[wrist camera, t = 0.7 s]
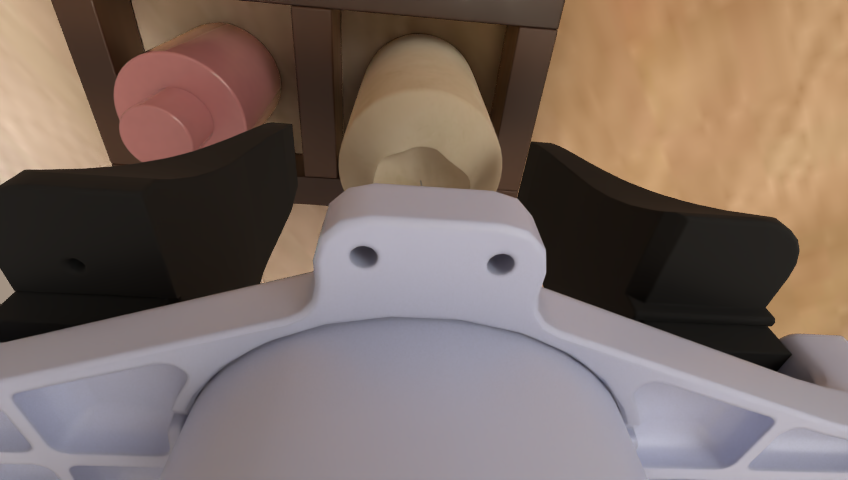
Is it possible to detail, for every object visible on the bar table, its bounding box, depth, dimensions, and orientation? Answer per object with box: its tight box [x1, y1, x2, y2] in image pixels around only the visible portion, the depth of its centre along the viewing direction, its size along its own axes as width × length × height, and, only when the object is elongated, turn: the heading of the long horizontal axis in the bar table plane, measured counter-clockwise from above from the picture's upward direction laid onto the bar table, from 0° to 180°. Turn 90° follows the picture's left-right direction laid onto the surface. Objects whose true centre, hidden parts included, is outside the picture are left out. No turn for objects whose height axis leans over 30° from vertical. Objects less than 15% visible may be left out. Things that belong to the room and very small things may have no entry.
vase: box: [114, 23, 281, 162], centre depth 18 cm, size 5×5×8 cm
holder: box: [51, 0, 565, 206], centre depth 20 cm, size 11×20×3 cm, turn 85°
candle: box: [338, 34, 502, 192], centre depth 18 cm, size 6×6×10 cm
